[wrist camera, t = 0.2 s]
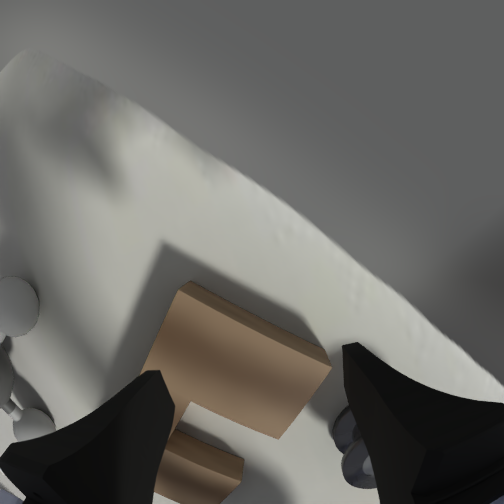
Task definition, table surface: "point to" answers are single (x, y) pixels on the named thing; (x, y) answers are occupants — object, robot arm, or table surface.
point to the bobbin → (353, 451)
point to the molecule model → (11, 324)
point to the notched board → (226, 386)
